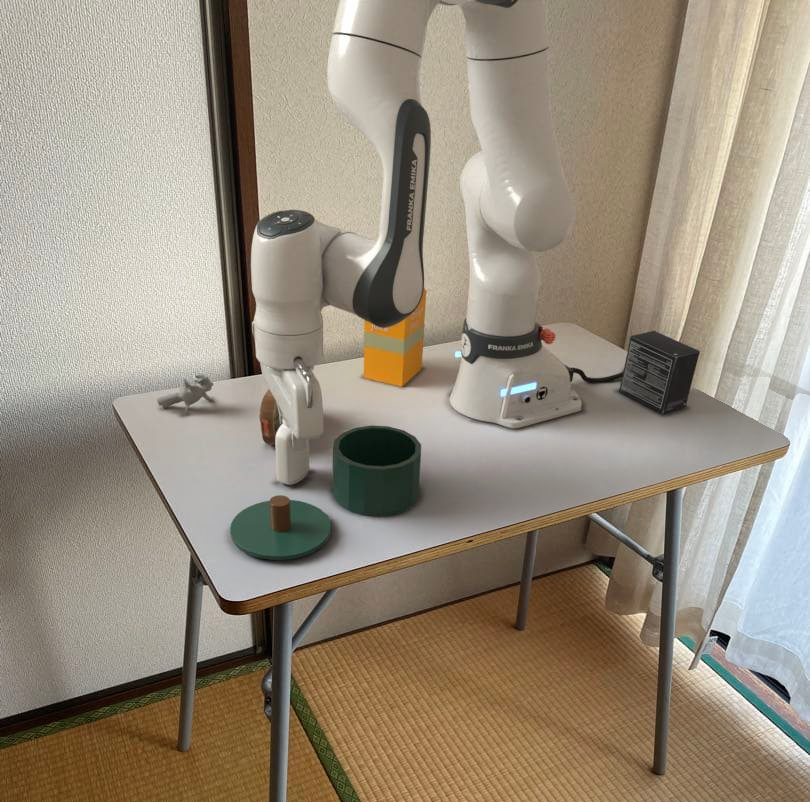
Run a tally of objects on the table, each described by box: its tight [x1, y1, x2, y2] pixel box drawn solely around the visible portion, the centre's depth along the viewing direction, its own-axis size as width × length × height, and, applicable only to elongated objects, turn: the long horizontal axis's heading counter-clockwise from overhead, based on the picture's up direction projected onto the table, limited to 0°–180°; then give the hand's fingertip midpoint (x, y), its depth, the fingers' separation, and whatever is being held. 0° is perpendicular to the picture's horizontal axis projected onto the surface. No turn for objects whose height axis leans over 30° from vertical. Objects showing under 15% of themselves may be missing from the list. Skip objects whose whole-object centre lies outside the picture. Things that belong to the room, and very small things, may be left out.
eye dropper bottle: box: [275, 413, 310, 486], centre depth 121 cm, size 4×6×12 cm
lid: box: [229, 494, 332, 561], centre depth 112 cm, size 13×13×5 cm
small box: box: [618, 330, 701, 415], centre depth 148 cm, size 11×6×10 cm, turn 34°
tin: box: [259, 388, 281, 446], centre depth 134 cm, size 15×3×8 cm, turn 168°
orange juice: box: [363, 287, 427, 387], centre depth 150 cm, size 8×9×20 cm
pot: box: [332, 424, 422, 517], centre depth 121 cm, size 12×12×8 cm
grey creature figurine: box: [156, 371, 214, 415], centre depth 139 cm, size 10×6×9 cm
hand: (292, 437), depth 121 cm, fingers closed on eye dropper bottle, 5 cm apart
